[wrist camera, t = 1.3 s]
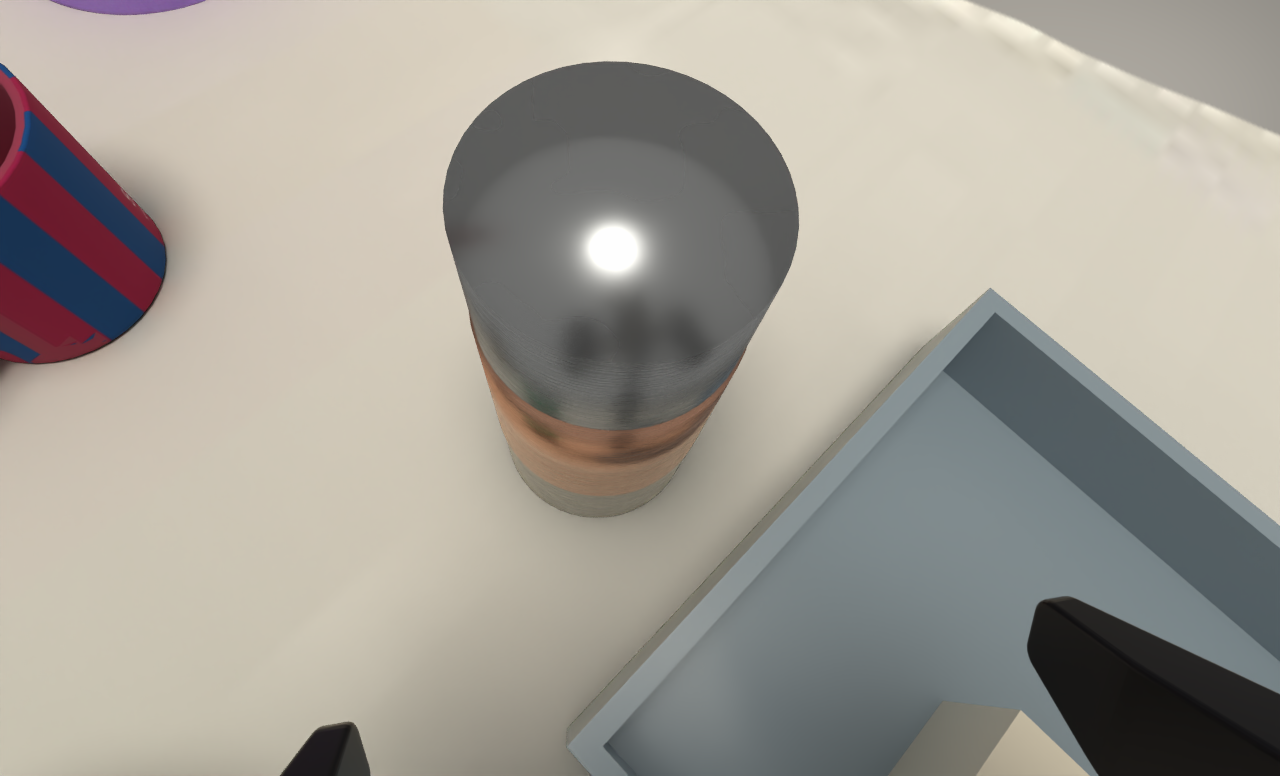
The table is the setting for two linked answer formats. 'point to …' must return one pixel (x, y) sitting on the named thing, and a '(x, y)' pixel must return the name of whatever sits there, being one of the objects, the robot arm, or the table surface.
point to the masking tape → (127, 5)
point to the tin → (614, 269)
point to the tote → (942, 571)
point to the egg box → (983, 745)
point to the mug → (65, 240)
